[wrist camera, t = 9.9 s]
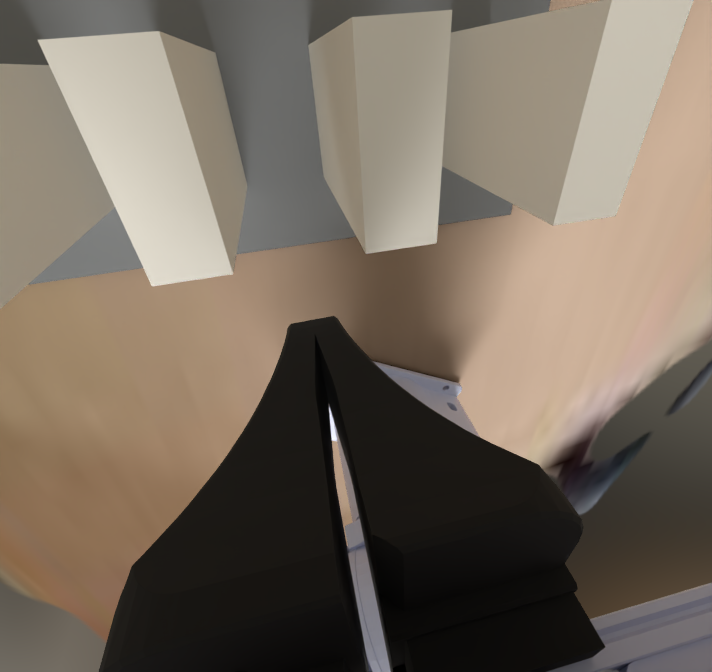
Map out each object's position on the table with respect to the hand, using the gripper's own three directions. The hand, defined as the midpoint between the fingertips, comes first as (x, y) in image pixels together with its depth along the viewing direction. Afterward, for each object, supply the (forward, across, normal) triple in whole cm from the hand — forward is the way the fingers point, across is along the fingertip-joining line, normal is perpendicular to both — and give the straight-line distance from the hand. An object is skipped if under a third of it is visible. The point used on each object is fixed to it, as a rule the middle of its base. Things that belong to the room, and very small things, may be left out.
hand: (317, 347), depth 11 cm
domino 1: (+10, -8, -5) cm, 13 cm away
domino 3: (+10, +3, -5) cm, 11 cm away
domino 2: (+10, -3, -5) cm, 11 cm away
